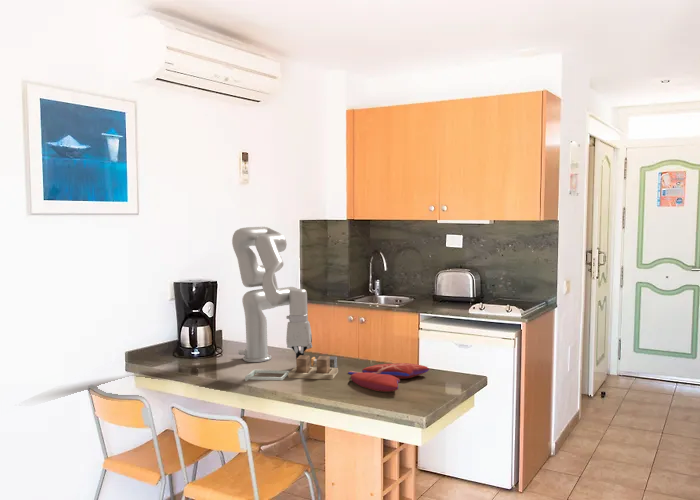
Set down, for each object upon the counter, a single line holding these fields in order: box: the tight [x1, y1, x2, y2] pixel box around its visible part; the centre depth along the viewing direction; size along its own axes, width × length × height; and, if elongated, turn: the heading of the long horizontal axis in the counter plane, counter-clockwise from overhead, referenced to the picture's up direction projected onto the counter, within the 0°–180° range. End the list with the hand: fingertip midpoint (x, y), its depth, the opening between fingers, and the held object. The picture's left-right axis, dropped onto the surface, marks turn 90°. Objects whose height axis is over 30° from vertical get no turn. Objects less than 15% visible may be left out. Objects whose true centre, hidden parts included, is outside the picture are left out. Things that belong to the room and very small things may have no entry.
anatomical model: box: [347, 362, 430, 393], centre depth 237 cm, size 30×7×30 cm
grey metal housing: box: [329, 355, 338, 368], centre depth 253 cm, size 6×5×6 cm
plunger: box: [310, 356, 317, 367], centre depth 253 cm, size 5×4×3 cm
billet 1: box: [295, 354, 311, 373], centre depth 244 cm, size 4×6×7 cm, turn 169°
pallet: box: [287, 366, 339, 380], centre depth 244 cm, size 18×11×3 cm, turn 79°
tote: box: [244, 369, 290, 382], centre depth 243 cm, size 15×10×2 cm
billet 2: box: [316, 355, 330, 374], centre depth 242 cm, size 4×6×7 cm, turn 170°
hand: (300, 361), depth 255 cm, fingers closed
